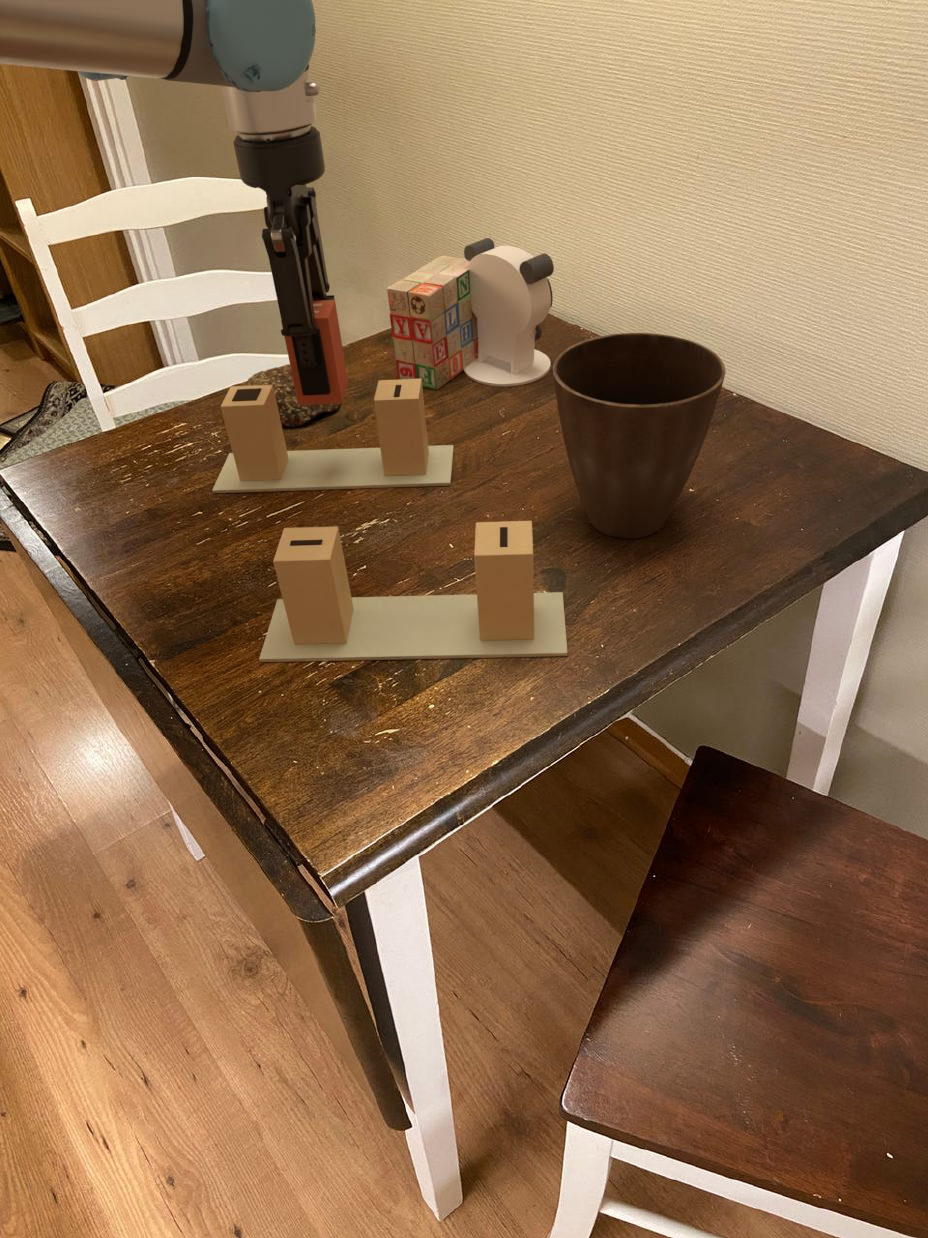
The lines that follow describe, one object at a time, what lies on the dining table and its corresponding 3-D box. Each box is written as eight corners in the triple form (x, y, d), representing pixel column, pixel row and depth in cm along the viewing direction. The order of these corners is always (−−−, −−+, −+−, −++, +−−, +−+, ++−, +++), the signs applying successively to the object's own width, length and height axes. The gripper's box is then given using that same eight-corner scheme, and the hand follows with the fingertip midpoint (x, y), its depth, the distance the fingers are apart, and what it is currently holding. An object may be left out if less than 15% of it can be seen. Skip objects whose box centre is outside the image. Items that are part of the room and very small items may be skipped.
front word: (259, 662, 75) (234, 574, 69) (278, 602, 81) (256, 516, 75) (567, 656, 73) (569, 565, 67) (562, 595, 79) (564, 506, 73)
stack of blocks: (482, 321, 127) (478, 232, 119) (520, 328, 125) (518, 237, 117) (397, 381, 114) (385, 286, 106) (437, 391, 111) (428, 293, 103)
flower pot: (586, 466, 96) (590, 322, 85) (722, 495, 90) (745, 344, 79) (527, 540, 86) (524, 387, 75) (676, 578, 80) (695, 418, 70)
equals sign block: (298, 405, 91) (280, 318, 85) (305, 385, 94) (289, 300, 88) (342, 403, 90) (327, 316, 84) (348, 383, 94) (334, 298, 88)
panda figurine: (572, 364, 115) (574, 245, 105) (513, 396, 109) (510, 273, 99) (505, 341, 122) (501, 227, 112) (446, 370, 116) (437, 252, 106)
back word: (212, 493, 96) (189, 414, 90) (230, 455, 102) (209, 379, 96) (450, 485, 94) (443, 404, 88) (453, 447, 100) (447, 369, 94)
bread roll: (220, 414, 110) (210, 376, 107) (289, 375, 117) (282, 339, 114) (294, 439, 104) (285, 400, 101) (362, 396, 111) (356, 359, 108)
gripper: (300, 153, 69) (344, 421, 84) (333, 105, 83) (366, 344, 98) (206, 158, 70) (268, 424, 85) (254, 110, 83) (300, 347, 98)
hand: (320, 380), depth 91 cm, fingers closed on equals sign block, 5 cm apart
